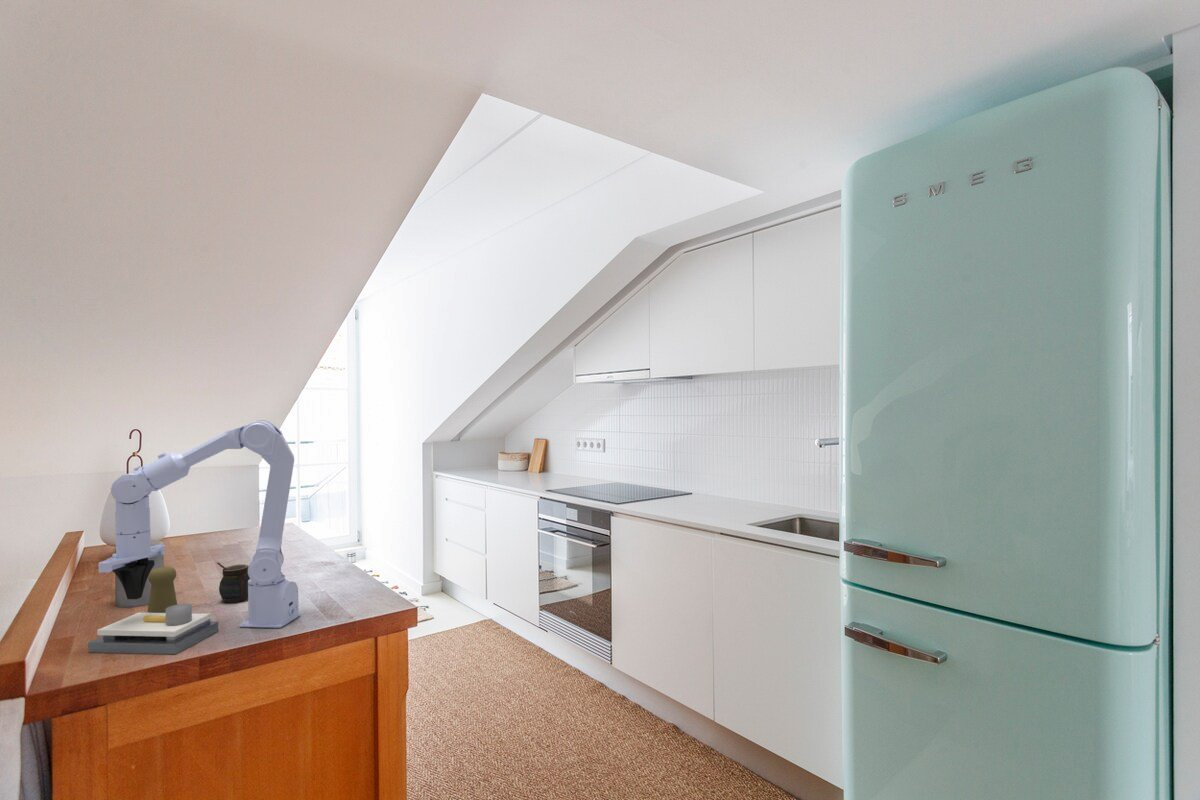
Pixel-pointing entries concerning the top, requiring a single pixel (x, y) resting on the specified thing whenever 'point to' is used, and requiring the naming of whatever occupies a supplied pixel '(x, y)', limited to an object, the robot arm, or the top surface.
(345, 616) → the top surface
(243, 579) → the mate gourd
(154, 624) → the plate
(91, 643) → the grey rectangular base
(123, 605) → the pillar candle
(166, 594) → the cork
